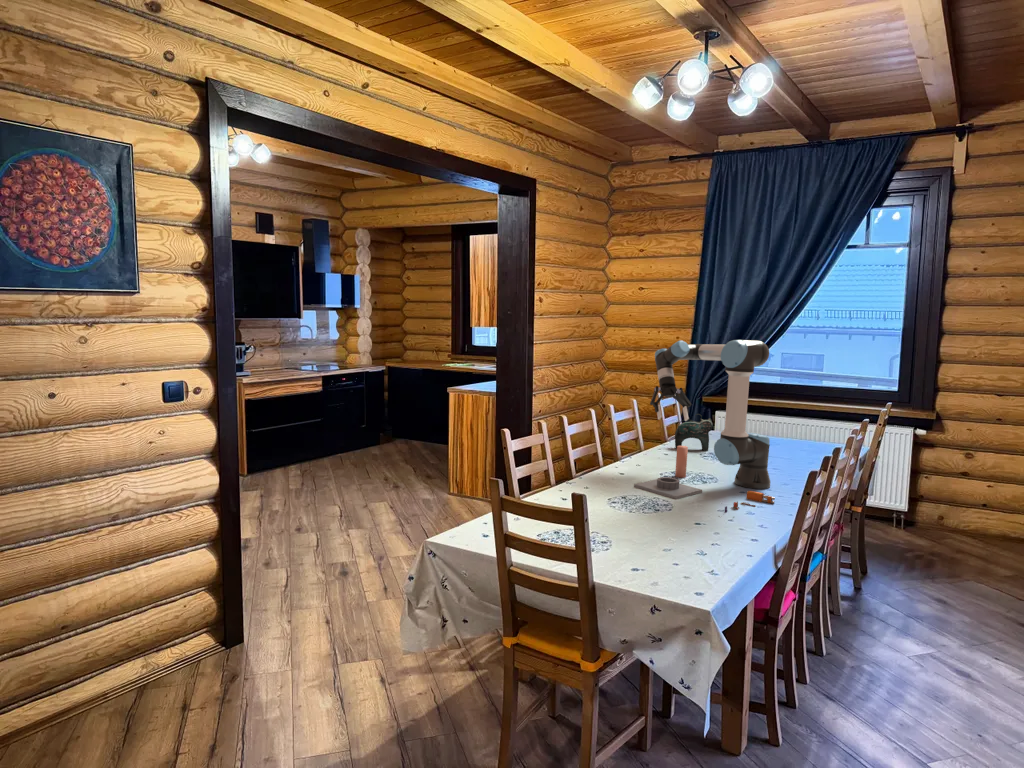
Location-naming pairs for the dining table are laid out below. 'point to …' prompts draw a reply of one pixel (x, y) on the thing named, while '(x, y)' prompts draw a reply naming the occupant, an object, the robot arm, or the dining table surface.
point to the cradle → (668, 487)
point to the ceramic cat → (694, 432)
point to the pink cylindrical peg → (681, 461)
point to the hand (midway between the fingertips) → (673, 419)
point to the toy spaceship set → (753, 496)
